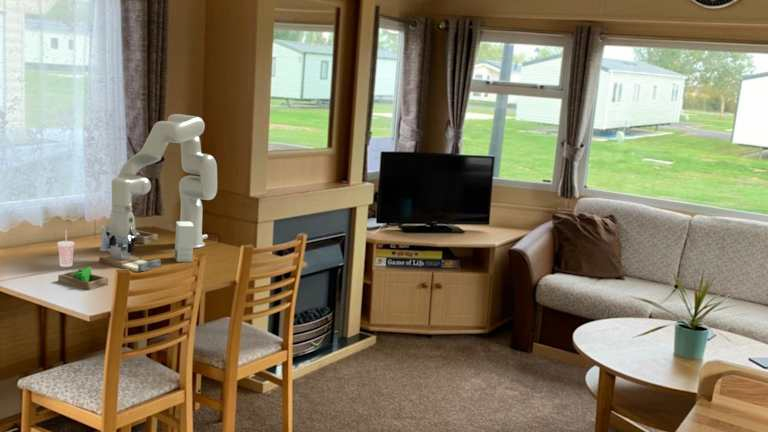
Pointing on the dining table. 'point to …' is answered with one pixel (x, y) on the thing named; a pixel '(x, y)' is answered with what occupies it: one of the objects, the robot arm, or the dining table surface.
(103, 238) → the hippopotamus toy
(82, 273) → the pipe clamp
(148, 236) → the clip frame
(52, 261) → the dining table surface
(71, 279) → the brown wooden tray
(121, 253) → the clip block
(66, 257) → the beverage cup
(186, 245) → the skincare box
